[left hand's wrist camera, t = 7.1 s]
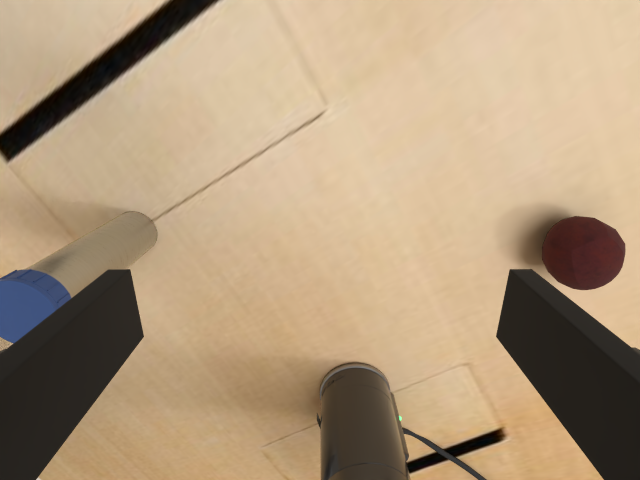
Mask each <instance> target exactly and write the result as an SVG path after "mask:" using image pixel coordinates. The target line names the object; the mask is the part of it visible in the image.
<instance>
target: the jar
mask: <svg viewBox="0 0 640 480" xmlns="http://www.w3.org/2000/svg"><path fill="white" fill-rule="evenodd" d="M156 240H157V230H156V227H155V225H154V223H153V222H152V221H151V220H150V219H149V218H148V217H147V216H145V215H143V214H141V213H138V212H126V213H124V214H122V215H120V216H118V217H116V218H115V219H113V220H111V221H109V222H108V223H106V224H104V225H102V226H100V227H99V228H97V229H95V230H93V231H92V232H90V233H88V234H86V235H85V236H83V237H81V238H79V239H78V240H76V241H74V242H72V243H71V244H69V245H67V246H65V247H64V248H62V249H60V250H58V251H56V252H55V253H53V254H51V255H49V256H48V257H46V258H44V259H42V260H41V261H39V262H37V263H35V264H34V265H32V266H30V267H28V268H27V269H25V270H29V269H32V270H36V271H40V272H43V273H47V274H48V275H50V276H52V277H54V278H55V279H56V280H58V281H59V282H60V283H61V284H62V285H63V286H64V287H65V288H66V289H67V291H68V292H69V293H70V296H71V298H72V297H74V296H75V295H76V294H77V293H79V292H80V291H81V290H83V289H84V288H85V287H86V286H88V285H89V284H90V283H91V282H93V281H94V280H95V279H97V278H98V277H99V276H100V275H102V274H103V273H104V272H105V271H107V270H108V269H127V268H128V267H129V266H131V265H132V264H133V263H134V262H135V261H136V260H137V259H139V258H140V257H141V256H142V255H143V254H144V253H146V252H147V251H148V250H149V249H150V248H151V247H152V246H153V245H154V244H155V242H156Z"/></svg>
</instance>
